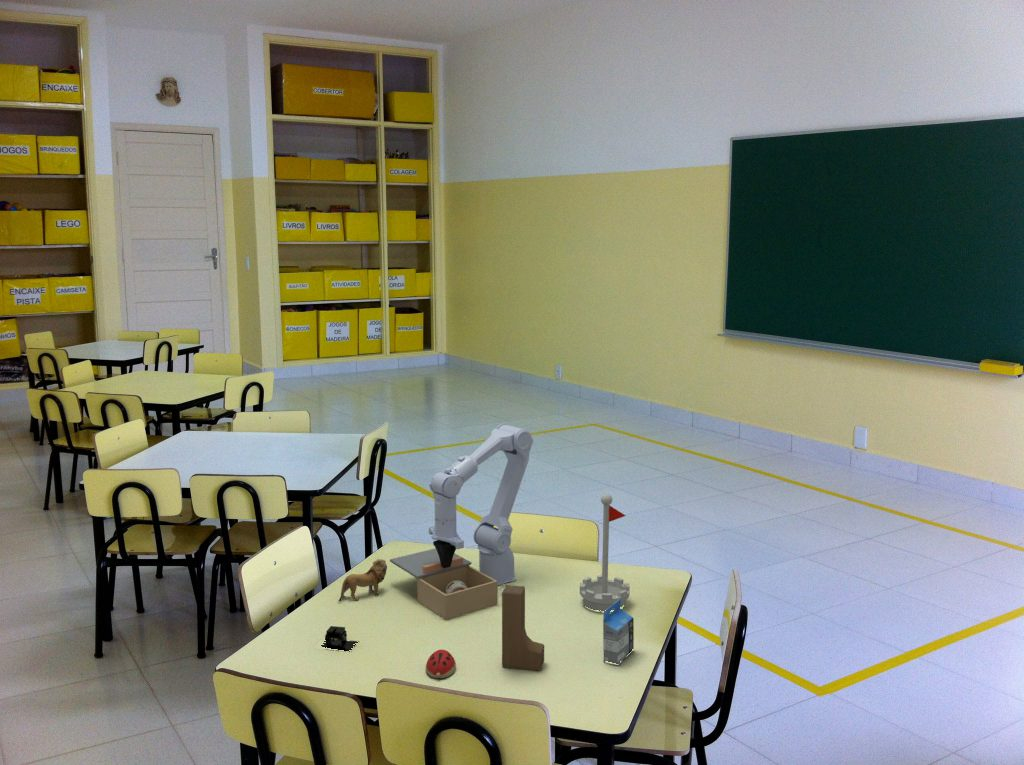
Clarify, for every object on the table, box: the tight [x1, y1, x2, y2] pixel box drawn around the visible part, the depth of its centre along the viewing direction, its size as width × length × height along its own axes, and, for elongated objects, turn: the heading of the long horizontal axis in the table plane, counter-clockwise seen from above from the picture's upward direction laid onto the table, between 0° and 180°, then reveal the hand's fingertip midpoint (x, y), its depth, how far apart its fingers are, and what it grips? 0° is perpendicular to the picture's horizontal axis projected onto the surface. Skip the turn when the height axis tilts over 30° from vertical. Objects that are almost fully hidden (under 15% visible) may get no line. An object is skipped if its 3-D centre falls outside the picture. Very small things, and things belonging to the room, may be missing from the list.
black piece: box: [321, 625, 360, 653], centre depth 211 cm, size 12×7×5 cm, turn 80°
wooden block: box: [501, 584, 545, 671], centre depth 200 cm, size 9×4×18 cm, turn 78°
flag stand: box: [579, 493, 631, 611], centre depth 232 cm, size 13×13×30 cm
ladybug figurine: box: [425, 648, 457, 679], centre depth 199 cm, size 7×10×4 cm
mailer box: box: [416, 565, 499, 621], centre depth 234 cm, size 16×14×6 cm
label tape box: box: [602, 599, 635, 665], centre depth 204 cm, size 9×4×12 cm, turn 148°
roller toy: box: [445, 580, 468, 594], centre depth 234 cm, size 4×6×6 cm
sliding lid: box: [389, 547, 472, 579], centre depth 244 cm, size 17×15×2 cm
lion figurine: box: [338, 558, 388, 602], centre depth 238 cm, size 15×5×9 cm, turn 130°
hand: (446, 566), depth 237 cm, fingers closed
